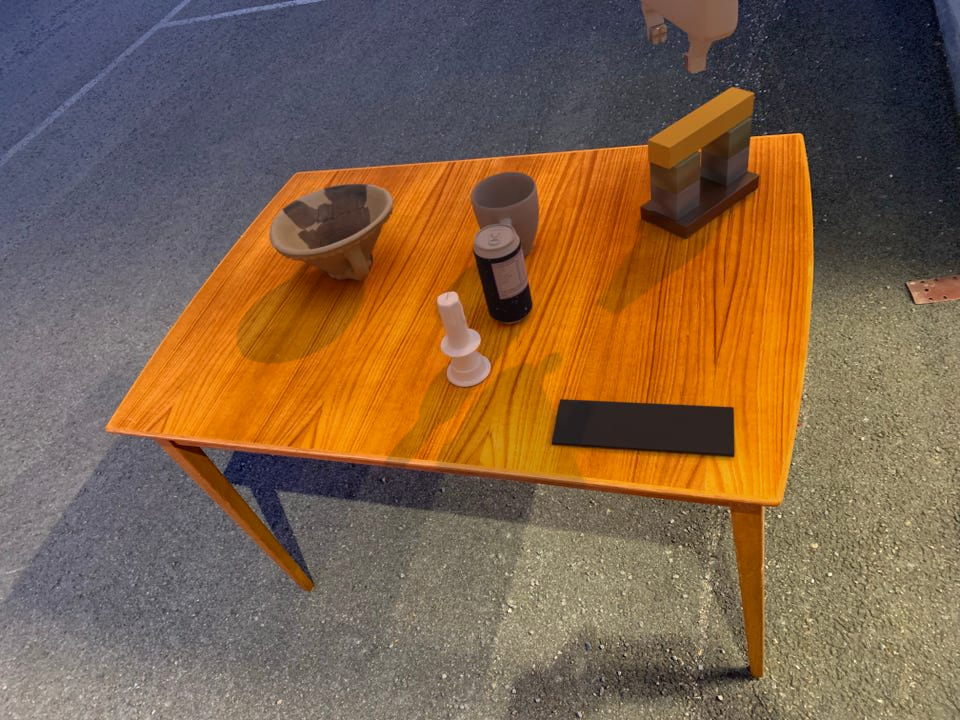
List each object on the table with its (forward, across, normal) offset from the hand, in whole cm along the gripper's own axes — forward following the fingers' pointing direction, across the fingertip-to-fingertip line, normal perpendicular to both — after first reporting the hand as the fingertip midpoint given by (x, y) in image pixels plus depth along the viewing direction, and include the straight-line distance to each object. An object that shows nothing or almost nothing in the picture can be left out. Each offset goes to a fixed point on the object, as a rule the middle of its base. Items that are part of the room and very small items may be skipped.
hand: (675, 55), depth 78 cm
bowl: (+24, +15, +44) cm, 52 cm away
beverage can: (+24, -6, +25) cm, 35 cm away
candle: (+24, -14, +33) cm, 43 cm away
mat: (+24, -30, +18) cm, 42 cm away
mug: (+24, +5, +21) cm, 32 cm away
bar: (+14, +4, -5) cm, 15 cm away
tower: (+24, +4, -5) cm, 24 cm away
